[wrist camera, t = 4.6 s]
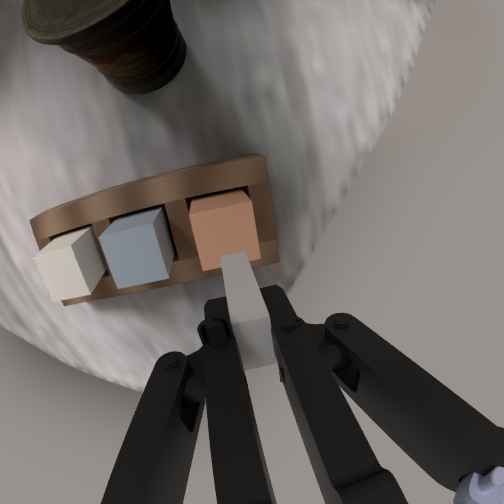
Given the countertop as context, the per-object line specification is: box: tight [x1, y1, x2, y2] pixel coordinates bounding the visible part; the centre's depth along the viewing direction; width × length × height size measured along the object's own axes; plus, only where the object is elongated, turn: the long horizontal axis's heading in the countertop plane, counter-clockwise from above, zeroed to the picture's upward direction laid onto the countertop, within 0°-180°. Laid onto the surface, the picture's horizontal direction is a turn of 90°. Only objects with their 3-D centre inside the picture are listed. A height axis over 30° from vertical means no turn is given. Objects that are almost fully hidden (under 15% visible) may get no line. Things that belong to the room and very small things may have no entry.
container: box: [22, 0, 186, 94], centre depth 13 cm, size 9×9×18 cm
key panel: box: [30, 154, 280, 306], centre depth 27 cm, size 26×11×4 cm, turn 99°
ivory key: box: [33, 225, 107, 302], centre depth 23 cm, size 5×5×6 cm
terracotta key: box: [189, 189, 261, 271], centre depth 25 cm, size 5×5×6 cm
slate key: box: [98, 206, 175, 289], centre depth 24 cm, size 5×5×6 cm
